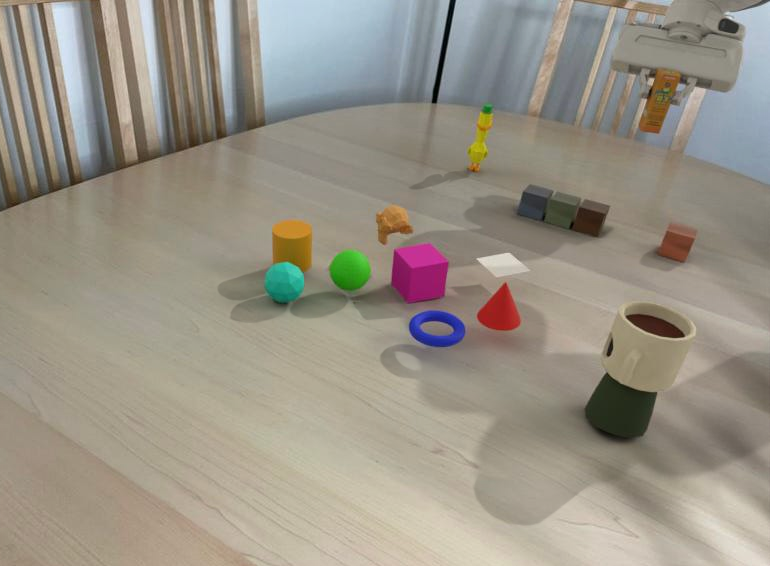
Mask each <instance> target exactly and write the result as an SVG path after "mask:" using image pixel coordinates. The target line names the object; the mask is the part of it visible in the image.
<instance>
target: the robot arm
mask: <svg viewBox="0 0 770 566" xmlns="http://www.w3.org/2000/svg"><path fill="white" fill-rule="evenodd" d="M769 2H770V0H672V2H671V3H670V4H669V6H668V8H667V11H666V13H665V15H664V18H663V20H662V23H661V24H658V23H652V22H651V23H650V22H643V21H640V20H634V21H633V22H628V23H626V24H624V25H623V26H622V28H621V30H620V32H619V35H618V41H617V43H616V45H615V46H614V48H613V51H612V53H611V55H610V61H609V62H610V63H609V65H610V68H611V70H612V71H614V72H617V73H624V74H628V75H633V76H638V83H639V86H640V90H639V93H638V98H639V99H643V100H647V99H648V96H649V94H650V91H651V88H652V85H650V84H648V82H649V81H648V80H649V79H653V80H654V79H655V76H656V73H657V70H658V69H659V68H661V69H667V70H675V71H678V72H679V74H680V80H679V83H678V85H683V86H685V87H684V88H682V89H681V90H676V91H675V93H674V96H673V98H672V101H671V104H670V106H671V105H672V106H675V107H676V106H677V107H680V106H681V104H682V101H683V99H685V98H686V97H688V96H689V95H690V94H691V93H693V92H694V90H695V88H699V89H704V90H710V91H714V92H719V93H724V94H725V93H729V92H730V91H732V90H733V89H734V88H735V86H736V83H737V81H738V78H739V75H740V73H741V68H742V65H743V62H744V56H745V46H744V40H745V38H746V34H747V26H745V25H744V24H743V23H740V22H738V21H735V20H734V19H732V18H730V17H728V16H726V15H725V14H726V13H728V12H729V13H738V12H741V11H746V10H749V9H754V8H758V7H761V6H764V5H766V4H768V3H769Z"/></svg>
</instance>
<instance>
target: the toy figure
mask: <svg viewBox="0 0 770 566" xmlns="http://www.w3.org/2000/svg"><path fill="white" fill-rule="evenodd" d="M493 108H494V105H493V104H491V103H484V104H483V108H481V110H480V113H479V117H478V120H477V121H476V127H477V128H476V138H475V141H474V142H473V143H472V144H471V145H470V146H468V149H467V154H468V156H469V157H468V158H469V159H470V162H471V163H470V164H469V167H468V168H469V171H474V172H479V171H480V169H481V165H480V164H481V163H482V162H483V161H484V160H485V159H487V157H488V156H489V155H488V154H489V149H488V147H487V146H486V143H485V142H486V140H487V136H488V133H489V131H490V129H491V128H492V125H493V117H494V110H493Z"/></svg>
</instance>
